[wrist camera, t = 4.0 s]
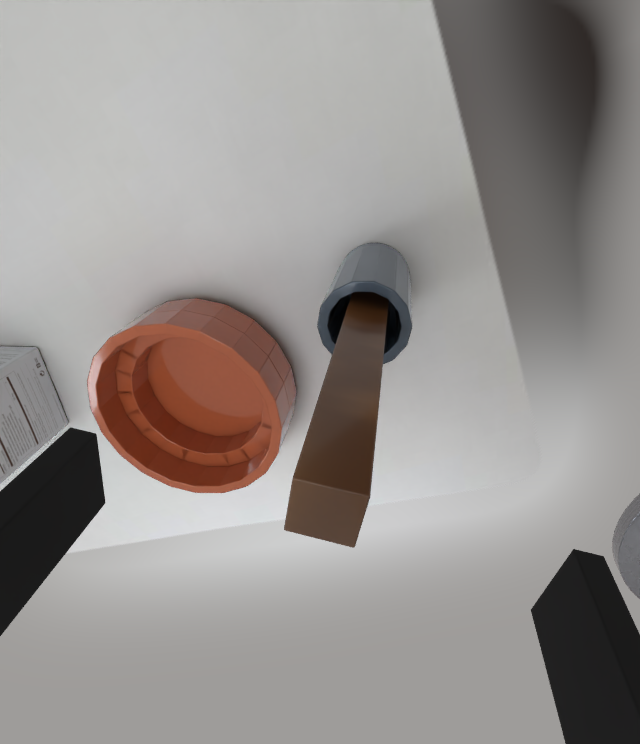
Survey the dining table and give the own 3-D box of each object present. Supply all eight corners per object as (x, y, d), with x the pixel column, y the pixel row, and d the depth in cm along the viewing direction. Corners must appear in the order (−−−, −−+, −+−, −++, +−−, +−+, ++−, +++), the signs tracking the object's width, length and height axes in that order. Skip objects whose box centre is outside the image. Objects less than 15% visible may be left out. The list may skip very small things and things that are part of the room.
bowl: (309, 318, 35) (293, 352, 30) (286, 464, 43) (269, 511, 37) (123, 277, 36) (75, 303, 31) (134, 428, 44) (97, 468, 38)
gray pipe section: (418, 250, 31) (422, 291, 23) (399, 318, 33) (397, 376, 26) (345, 235, 31) (326, 271, 23) (332, 304, 34) (311, 357, 26)
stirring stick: (391, 270, 31) (370, 496, 12) (384, 299, 32) (354, 548, 13) (361, 263, 31) (292, 477, 12) (355, 293, 32) (283, 530, 13)
